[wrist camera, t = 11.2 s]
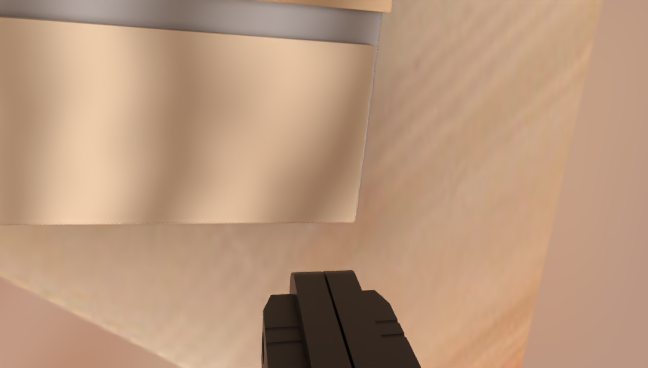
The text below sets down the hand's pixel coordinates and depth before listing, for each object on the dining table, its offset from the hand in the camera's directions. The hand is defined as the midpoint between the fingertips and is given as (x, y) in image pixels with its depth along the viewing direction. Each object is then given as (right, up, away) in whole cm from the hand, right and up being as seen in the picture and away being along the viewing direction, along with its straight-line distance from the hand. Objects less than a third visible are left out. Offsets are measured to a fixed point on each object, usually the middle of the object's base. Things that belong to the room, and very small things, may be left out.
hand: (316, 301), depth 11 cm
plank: (-7, +5, +9) cm, 12 cm away
